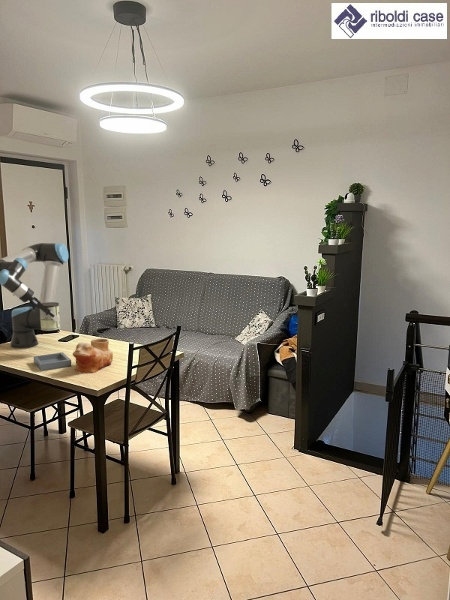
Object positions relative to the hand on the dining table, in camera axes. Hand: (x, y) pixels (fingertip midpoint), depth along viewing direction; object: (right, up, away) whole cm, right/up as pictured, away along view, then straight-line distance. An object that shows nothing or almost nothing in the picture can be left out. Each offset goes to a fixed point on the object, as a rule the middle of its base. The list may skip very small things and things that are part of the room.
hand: (55, 318), depth 249 cm
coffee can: (-3, -6, -1) cm, 6 cm away
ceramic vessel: (+27, -25, -19) cm, 41 cm away
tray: (+4, -24, -15) cm, 28 cm away
